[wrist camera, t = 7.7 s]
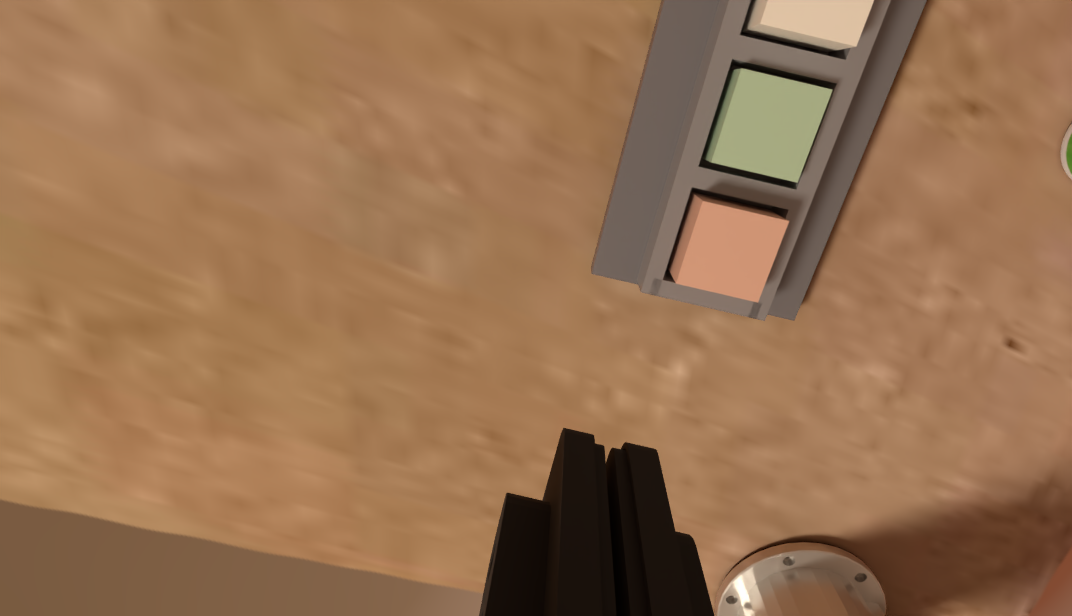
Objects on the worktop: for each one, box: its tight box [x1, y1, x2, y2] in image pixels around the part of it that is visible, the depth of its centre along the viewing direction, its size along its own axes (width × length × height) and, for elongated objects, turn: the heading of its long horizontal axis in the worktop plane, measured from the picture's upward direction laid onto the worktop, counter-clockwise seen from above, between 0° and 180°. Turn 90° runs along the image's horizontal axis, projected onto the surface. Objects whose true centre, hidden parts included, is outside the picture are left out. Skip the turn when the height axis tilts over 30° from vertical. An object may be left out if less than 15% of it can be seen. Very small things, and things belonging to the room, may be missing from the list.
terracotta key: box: [667, 192, 789, 303], centre depth 31 cm, size 5×5×3 cm
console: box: [591, 0, 927, 321], centre depth 31 cm, size 13×21×4 cm, turn 168°
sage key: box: [701, 68, 832, 183], centre depth 30 cm, size 5×5×3 cm
